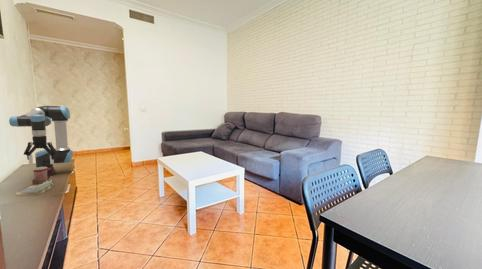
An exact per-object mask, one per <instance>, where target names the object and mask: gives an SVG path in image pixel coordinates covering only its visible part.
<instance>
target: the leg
mask: <svg viewBox="0 0 482 269" xmlns="http://www.w3.org/2000/svg"><path fill="white" fill-rule="evenodd" d="M52 184H53V180H52V179H50V178H49V179H48V180H47V181H46V182H44V183H42V184H40V185H38V186H37V187H36V191H41V190H42V189H44V188H46V187H48V186H49V185H52Z"/></svg>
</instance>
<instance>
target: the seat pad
mask: <svg viewBox="0 0 482 269" xmlns="http://www.w3.org/2000/svg"><path fill="white" fill-rule="evenodd" d="M34 191H36V187H31V188H28V187H26V188H24V189H21V190H20V191H19V192H21V193H30V192H34Z"/></svg>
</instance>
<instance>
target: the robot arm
mask: <svg viewBox="0 0 482 269" xmlns="http://www.w3.org/2000/svg"><path fill="white" fill-rule="evenodd" d="M69 119H71V113H70V109H69V108H68V107H67V106H65V105H64V106H62V105H41V106H38V107H37V106H36V107H34V108H32V109H31V110H30V111H28V112H26V113H23V114H21V115H19V116H18V115H17V116H15V115H14V116H10V117H9V120H8V123H9V125H10V126H11V127H20V128H21V127H23V128H24V127H31V135H32V141H29V142H27V147H26V148H25V150H24V153H23V156H24V155H25V156H26V159H27V161H28V165H33V164H34V159H33V158H35V168H38V167H47V169H48V168H51V169H52V170H53V172H52V175H51V176H54V175H56V174H57V171H56V168H55V167H54V164H65V163H67V164H68V163H71V162H72V158H73V153H74V152H73V150H71V148H70V147H69V146H68V145H69V144H68V143H69V142H68V133H67V132H68V131H67V130H68V129H67V122H68V121H69ZM52 122H53V124H54V135H55V147H54V145H53V143H52V141H49V142H47V140H48V139H47V128H46V127H47V126H50V125H51V124H52ZM36 149H42V150H39V151H37V152H35V151H36ZM34 152H35V153H34ZM33 153H34V154H35V156H34V157H33V155H32V154H33ZM50 173H51V170H50V169H49V170H48V172H47V177H48V176H49V175H50ZM51 176H50V177H51Z"/></svg>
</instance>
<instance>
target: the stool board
mask: <svg viewBox="0 0 482 269" xmlns="http://www.w3.org/2000/svg"><path fill="white" fill-rule="evenodd" d="M31 182H32V184H31V185H30V186H28V187H27V188H31V187H37V186H38V185H40V180H39V179H35V178H34V179H32V181H31ZM54 187H55V183H52V185H49V186H48V187H46V188H44V189H42V190H41V191H34V192H30V193H21V192H20V191H18V192H16V193H15V194H16V197H24V196H27V197H28V196H40V195H42V194H43V193H45V192H47V191H49V190H50V189H52V188H54Z"/></svg>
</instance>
